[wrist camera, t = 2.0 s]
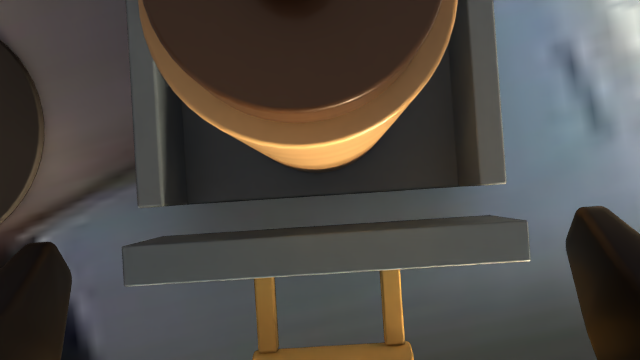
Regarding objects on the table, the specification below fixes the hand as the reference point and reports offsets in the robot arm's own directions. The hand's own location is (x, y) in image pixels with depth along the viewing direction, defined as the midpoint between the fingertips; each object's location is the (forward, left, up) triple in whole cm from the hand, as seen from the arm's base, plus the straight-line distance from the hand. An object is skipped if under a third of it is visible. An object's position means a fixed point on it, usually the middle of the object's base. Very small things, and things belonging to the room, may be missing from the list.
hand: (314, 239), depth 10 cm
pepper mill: (+4, 0, -10) cm, 11 cm away
